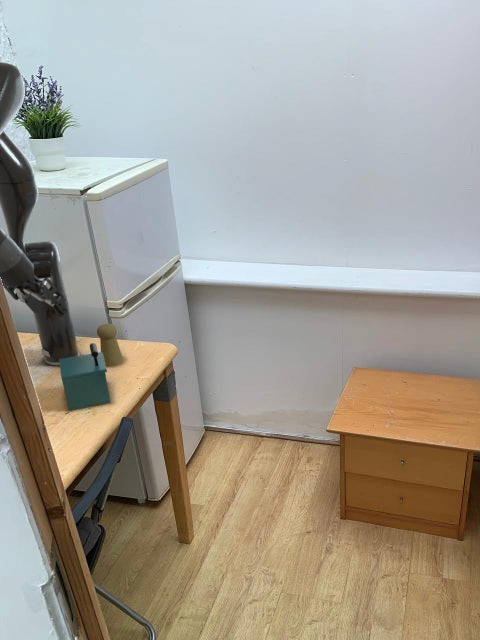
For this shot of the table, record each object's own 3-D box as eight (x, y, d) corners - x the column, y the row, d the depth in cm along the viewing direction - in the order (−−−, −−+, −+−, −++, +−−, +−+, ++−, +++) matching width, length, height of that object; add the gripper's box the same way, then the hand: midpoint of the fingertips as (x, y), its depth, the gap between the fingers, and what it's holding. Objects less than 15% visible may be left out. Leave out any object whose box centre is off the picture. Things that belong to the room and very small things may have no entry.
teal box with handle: (102, 354, 156) (99, 337, 154) (107, 372, 148) (103, 354, 146) (59, 361, 153) (55, 344, 151) (61, 379, 145) (57, 361, 143)
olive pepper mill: (117, 367, 169) (110, 331, 163) (97, 365, 170) (90, 329, 164) (126, 357, 174) (121, 322, 168) (107, 355, 175) (100, 320, 169)
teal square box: (106, 384, 161) (100, 355, 156) (110, 403, 153) (105, 372, 148) (66, 391, 158) (59, 361, 153) (69, 410, 150) (61, 380, 145)
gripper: (39, 248, 127) (82, 303, 139) (-7, 245, 133) (39, 298, 146) (17, 274, 123) (64, 327, 136) (-28, 269, 130) (20, 321, 142)
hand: (51, 312), depth 141 cm, fingers open, 8 cm apart
